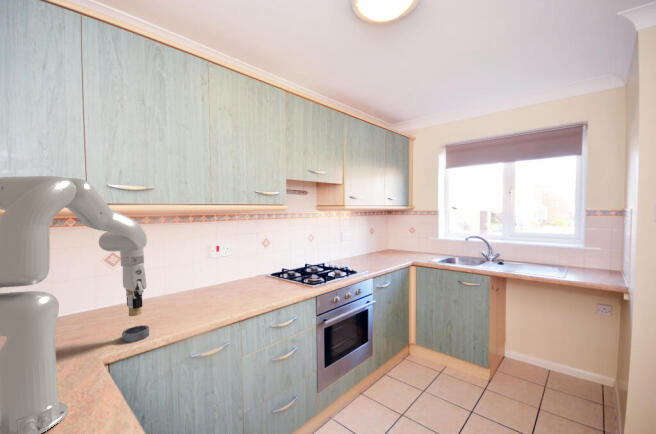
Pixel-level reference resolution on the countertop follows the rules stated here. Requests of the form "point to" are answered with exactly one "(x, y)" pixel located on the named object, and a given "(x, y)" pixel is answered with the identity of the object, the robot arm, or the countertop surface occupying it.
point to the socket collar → (135, 333)
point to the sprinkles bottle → (130, 305)
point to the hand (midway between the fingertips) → (134, 306)
